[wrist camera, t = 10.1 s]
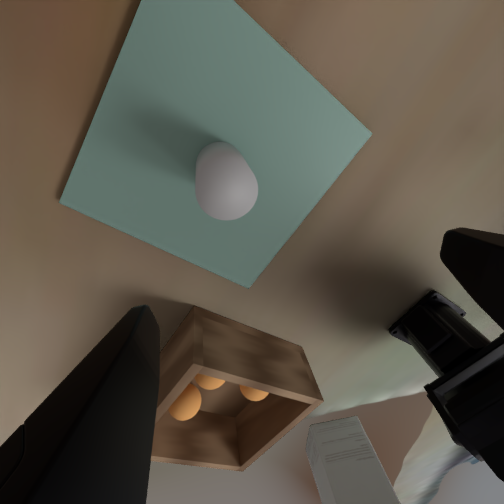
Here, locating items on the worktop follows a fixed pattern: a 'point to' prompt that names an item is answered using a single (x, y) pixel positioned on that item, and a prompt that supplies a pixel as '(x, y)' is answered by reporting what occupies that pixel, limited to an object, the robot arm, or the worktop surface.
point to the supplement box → (347, 464)
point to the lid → (210, 139)
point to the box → (229, 393)
